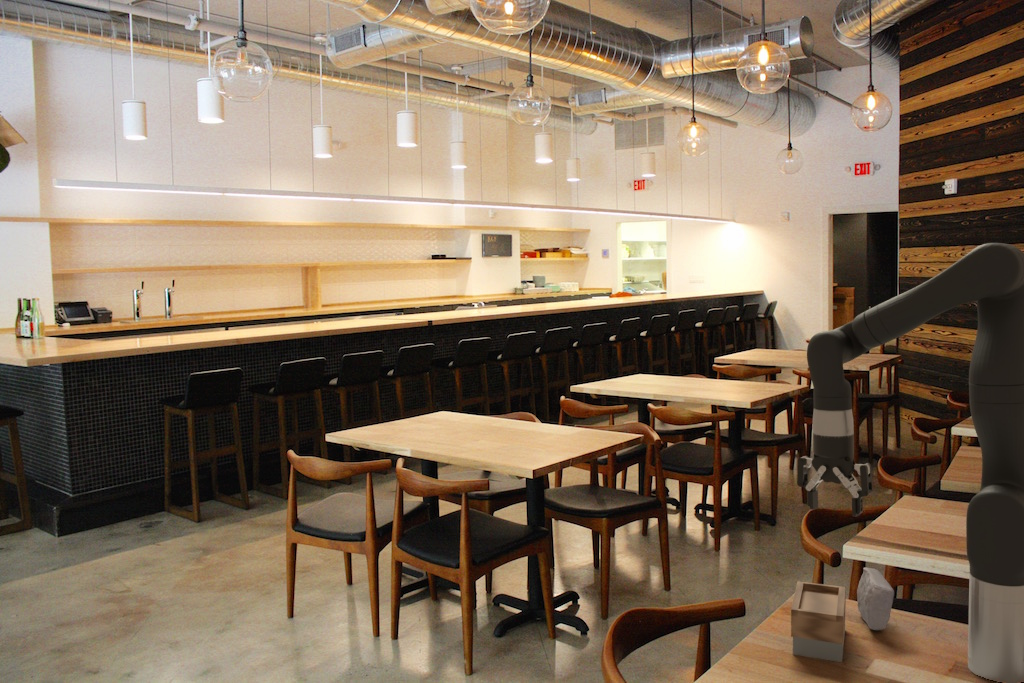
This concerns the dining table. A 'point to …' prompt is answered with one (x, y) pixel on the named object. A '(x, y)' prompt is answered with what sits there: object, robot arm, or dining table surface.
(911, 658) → the dining table surface
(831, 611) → the tan open box
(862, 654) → the dining table surface
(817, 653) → the base slab
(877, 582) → the stone block
